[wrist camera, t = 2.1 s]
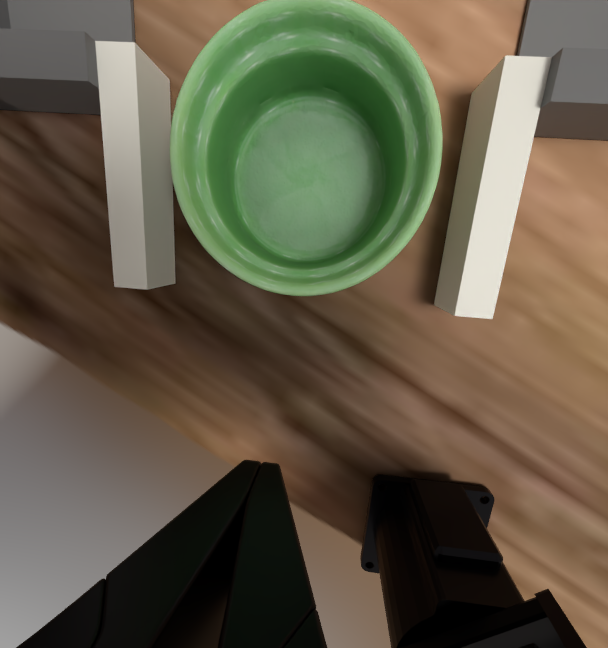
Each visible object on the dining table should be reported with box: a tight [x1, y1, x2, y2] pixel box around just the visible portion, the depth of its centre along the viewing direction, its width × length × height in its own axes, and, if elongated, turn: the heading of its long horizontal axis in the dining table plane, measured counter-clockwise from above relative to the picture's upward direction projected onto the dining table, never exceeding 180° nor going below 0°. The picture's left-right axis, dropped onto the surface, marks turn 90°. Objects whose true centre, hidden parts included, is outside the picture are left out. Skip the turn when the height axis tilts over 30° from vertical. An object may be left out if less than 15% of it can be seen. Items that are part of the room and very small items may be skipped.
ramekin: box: [170, 0, 442, 296], centre depth 12 cm, size 9×9×4 cm
